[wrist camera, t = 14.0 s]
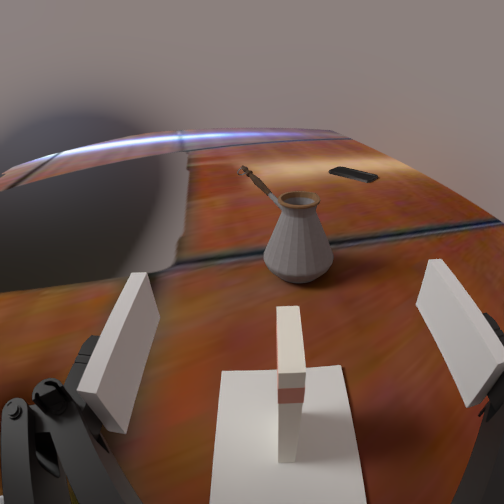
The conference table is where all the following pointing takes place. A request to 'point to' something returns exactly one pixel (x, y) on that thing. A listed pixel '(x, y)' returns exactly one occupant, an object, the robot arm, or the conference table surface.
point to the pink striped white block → (289, 380)
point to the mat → (266, 443)
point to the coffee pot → (296, 237)
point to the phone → (353, 174)
